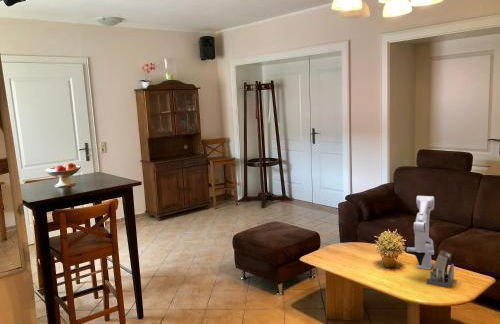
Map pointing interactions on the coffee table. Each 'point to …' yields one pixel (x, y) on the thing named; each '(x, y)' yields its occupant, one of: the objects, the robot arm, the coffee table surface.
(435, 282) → the slot rack
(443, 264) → the coffee box
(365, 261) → the coffee table surface
